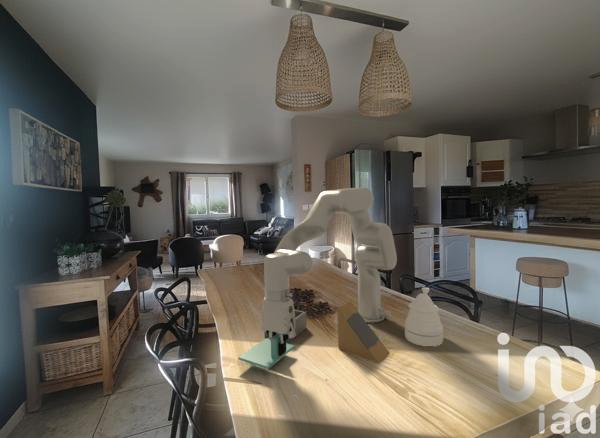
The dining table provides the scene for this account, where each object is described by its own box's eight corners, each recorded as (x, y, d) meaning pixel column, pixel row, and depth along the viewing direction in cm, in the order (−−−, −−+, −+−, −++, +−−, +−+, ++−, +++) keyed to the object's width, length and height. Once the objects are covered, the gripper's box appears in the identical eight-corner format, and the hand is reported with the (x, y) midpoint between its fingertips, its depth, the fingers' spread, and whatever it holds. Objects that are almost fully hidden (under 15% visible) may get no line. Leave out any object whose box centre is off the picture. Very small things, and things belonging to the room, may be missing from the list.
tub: (306, 329, 114) (306, 312, 113) (288, 343, 102) (287, 324, 102) (284, 324, 119) (283, 307, 119) (264, 337, 107) (264, 319, 107)
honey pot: (413, 327, 113) (413, 282, 112) (448, 337, 104) (448, 289, 103) (398, 338, 104) (398, 290, 103) (435, 350, 95) (435, 297, 94)
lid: (294, 350, 94) (293, 327, 93) (268, 372, 81) (267, 346, 81) (266, 343, 99) (266, 321, 99) (238, 362, 87) (237, 337, 87)
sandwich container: (380, 364, 88) (379, 317, 87) (337, 349, 98) (337, 306, 97) (391, 353, 95) (390, 308, 94) (350, 340, 104) (349, 299, 104)
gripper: (305, 294, 86) (307, 353, 87) (263, 287, 94) (265, 342, 95) (292, 301, 80) (294, 365, 81) (249, 294, 88) (251, 352, 89)
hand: (278, 352), depth 88 cm, fingers closed on lid
